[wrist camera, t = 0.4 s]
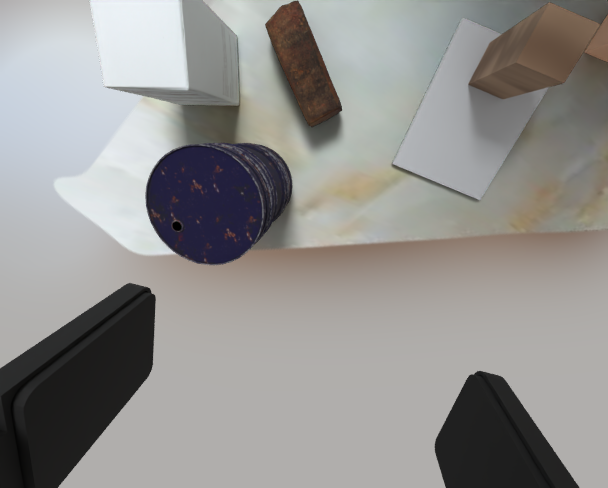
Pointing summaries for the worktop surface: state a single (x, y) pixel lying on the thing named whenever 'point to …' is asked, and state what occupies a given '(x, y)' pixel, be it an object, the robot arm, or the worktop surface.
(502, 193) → the worktop surface
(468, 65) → the mat
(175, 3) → the supplement box
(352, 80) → the worktop surface
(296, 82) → the brick
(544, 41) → the brown cardboard box
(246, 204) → the dark blue ribbed cylinder
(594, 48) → the terracotta block
